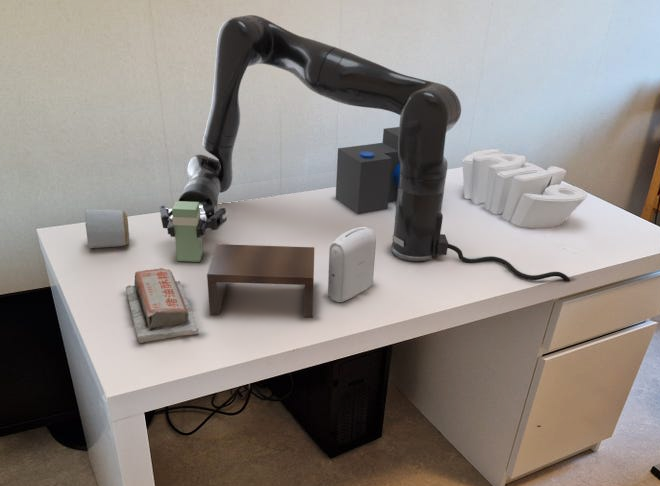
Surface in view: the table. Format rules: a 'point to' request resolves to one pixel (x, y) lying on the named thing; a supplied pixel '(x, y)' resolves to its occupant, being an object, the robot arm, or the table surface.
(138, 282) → the packaged product
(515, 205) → the white letter sculpture
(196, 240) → the box
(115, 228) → the ceramic mug
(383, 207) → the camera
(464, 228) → the table surface
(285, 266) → the shelf stand
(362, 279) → the photo printer
